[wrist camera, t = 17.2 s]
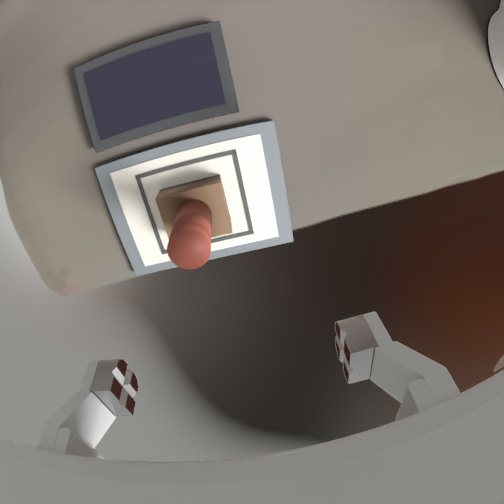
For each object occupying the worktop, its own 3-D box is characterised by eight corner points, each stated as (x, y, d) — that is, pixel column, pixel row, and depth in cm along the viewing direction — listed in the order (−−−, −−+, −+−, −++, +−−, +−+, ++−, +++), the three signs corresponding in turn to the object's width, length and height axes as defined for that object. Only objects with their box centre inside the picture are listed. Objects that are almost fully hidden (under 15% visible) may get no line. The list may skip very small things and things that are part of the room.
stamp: (219, 174, 29) (220, 209, 21) (231, 220, 31) (236, 270, 23) (160, 189, 29) (139, 229, 21) (174, 233, 31) (161, 286, 23)
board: (272, 119, 27) (274, 120, 26) (291, 237, 34) (293, 242, 33) (97, 166, 27) (93, 168, 27) (137, 272, 34) (136, 276, 33)
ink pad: (219, 24, 22) (219, 19, 20) (238, 110, 27) (239, 112, 25) (80, 69, 22) (72, 68, 20) (101, 149, 27) (94, 154, 25)
